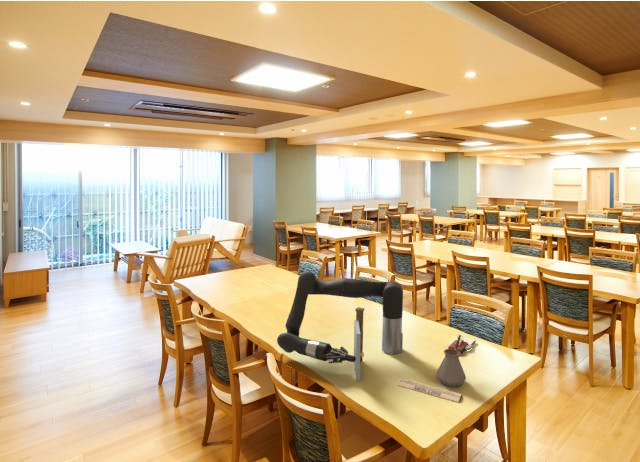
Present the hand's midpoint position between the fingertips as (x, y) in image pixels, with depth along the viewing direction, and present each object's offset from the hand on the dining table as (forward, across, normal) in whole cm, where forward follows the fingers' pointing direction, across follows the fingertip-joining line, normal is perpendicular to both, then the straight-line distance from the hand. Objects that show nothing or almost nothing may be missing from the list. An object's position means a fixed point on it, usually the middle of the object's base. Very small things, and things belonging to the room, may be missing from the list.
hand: (354, 359), depth 163 cm
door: (0, +5, +7) cm, 9 cm away
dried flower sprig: (+34, +53, +8) cm, 64 cm away
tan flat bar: (+30, +5, +9) cm, 31 cm away
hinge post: (-4, +14, +8) cm, 17 cm away
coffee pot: (+36, +21, +8) cm, 43 cm away
